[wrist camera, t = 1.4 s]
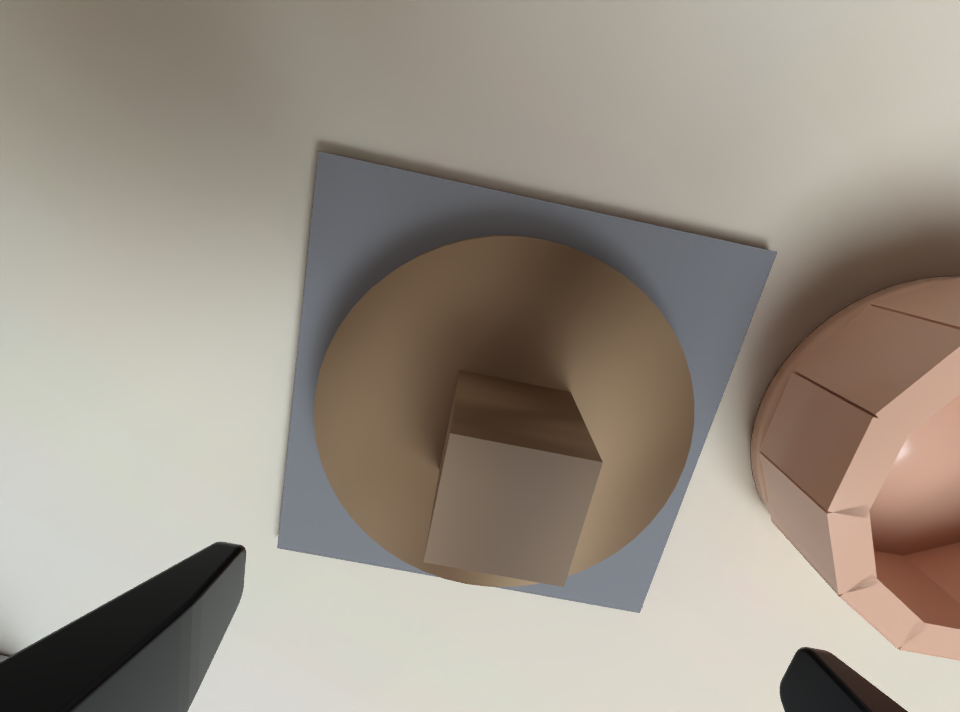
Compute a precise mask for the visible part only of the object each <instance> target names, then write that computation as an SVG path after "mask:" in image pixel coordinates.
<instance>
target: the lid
mask: <svg viewBox="0 0 960 712" xmlns="http://www.w3.org/2000/svg"><path fill="white" fill-rule="evenodd" d="M314 427H315V437H316V443H317V447H318V452H319V456H320V460H321V463H322V466H323V468H324V471H325V474H326V476H327V479H328V481H329V484H330V485H331V487H332V489H333V491H334V493H335V494H336V496H337V498H338V500H339V501H340V503H341V504H342V506H343V507H344V508H345V510H346V511H347V512H348V514H349V515H350V517H351V518H352V519H353V521H354V522H355V523H356V524H357V525H358V526H359V527H360V528H361V529H362V530H363V531H364V532H365V533H366V534H367V535H368V536H369V537H370V538H371V539H373V540H374V541H375V542H376V543H378V544H379V545H380V546H381V547H382V548H384V549H385V550H386V551H388V552H389V553H391V554H393V555H394V556H396V557H397V558H399V559H401V560H402V561H404V562H406V563H408V564H410V565H412V566H414V567H416V568H418V569H420V570H422V571H424V572H427V573H430V574H433V575H436V576H438V577H441V578H444V579H448V580H452V581H457V582H461V583H465V584H472V585H480V586H489V587H514V586H524V585H534V584H539V583H544V584H549V585H555V586H561V587H564V586H565V582H566V579H567V576H569V575H573V574H576V573H578V572H580V571H583V570H585V569H587V568H589V567H591V566H594V565H596V564H598V563H599V562H601V561H603V560H605V559H606V558H608V557H610V556H611V555H613V554H615V553H616V552H618V551H619V550H620V549H622V548H623V547H624V546H625V545H627V544H628V543H629V542H631V541H632V540H633V539H634V538H636V537H637V536H638V535H639V534H640V533H641V532H642V531H643V530H644V529H645V528H646V527H647V526H648V525H649V524H650V523H651V522H652V520H653V519H654V518H655V517H656V515H657V514H658V513H659V512H660V510H661V509H662V508H663V507H664V505H665V504H666V502H667V500H668V499H669V497H670V495H671V494H672V492H673V491H674V489H675V487H676V485H677V483H678V481H679V478H680V476H681V474H682V472H683V469H684V467H685V464H686V461H687V457H688V454H689V450H690V447H691V442H692V435H693V428H694V393H693V386H692V379H691V374H690V371H689V368H688V364H687V361H686V358H685V354H684V352H683V350H682V347H681V345H680V343H679V341H678V339H677V337H676V335H675V332H674V331H673V329H672V328H671V326H670V325H669V323H668V321H667V320H666V318H665V317H664V315H663V314H662V312H661V311H660V310H659V309H658V307H657V306H656V305H655V304H654V303H653V302H652V301H651V300H650V299H649V297H648V296H647V295H646V294H645V293H644V292H643V291H642V290H641V289H640V288H639V287H637V286H636V285H635V284H634V283H633V282H631V281H630V280H629V279H628V278H627V277H625V276H624V275H623V274H621V273H620V272H618V271H616V270H615V269H613V268H612V267H610V266H608V265H607V264H605V263H604V262H602V261H600V260H598V259H596V258H594V257H592V256H590V255H588V254H585V253H583V252H581V251H579V250H576V249H574V248H572V247H569V246H567V245H563V244H560V243H556V242H553V241H549V240H546V239H540V238H533V237H526V236H519V235H490V236H483V237H475V238H467V239H464V240H460V241H456V242H452V243H449V244H445V245H442V246H439V247H437V248H435V249H432V250H430V251H427V252H425V253H423V254H420V255H418V256H417V257H415V258H413V259H412V260H410V261H408V262H407V263H405V264H403V265H401V266H400V267H398V268H397V269H395V270H394V271H393V272H391V273H390V274H389V275H387V276H386V277H385V278H384V279H382V280H381V281H380V282H379V283H377V284H376V285H375V286H374V287H372V288H371V289H370V290H369V291H368V292H367V293H366V294H365V295H364V296H363V297H362V298H361V299H360V301H359V302H358V303H357V304H356V305H355V306H354V307H353V308H352V309H351V311H350V312H349V314H348V315H347V316H346V318H345V319H344V321H343V322H342V323H341V325H340V326H339V328H338V329H337V331H336V333H335V335H334V337H333V339H332V341H331V343H330V345H329V347H328V349H327V351H326V354H325V357H324V360H323V363H322V365H321V368H320V371H319V375H318V381H317V386H316V391H315V400H314Z"/></svg>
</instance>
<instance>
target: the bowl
mask: <svg viewBox="0 0 960 712" xmlns="http://www.w3.org/2000/svg"><path fill="white" fill-rule="evenodd" d="M751 464H752V474H753V477H754V481H755V485H756V488H757V491H758V493H759V495H760V498H761V500H762V502H763V504H764V506H765V507H766V509H767V510H768V512H769V513H770V515H771V520H772V521H773V523H774V524H775V525H776V526H777V528H778V529H779V530H780V531H781V532H782V533H783V534H784V535H785V536H786V538H787V539H788V540H789V541H790V542H791V543H792V544H793V545H794V547H795V548H796V549H797V550H798V551H799V552H800V553H801V554H802V555H803V557H804V558H805V559H806V560H807V561H808V562H809V563H810V564H811V565H812V567H813V568H814V569H815V570H816V571H817V572H818V573H819V574H820V576H821V577H822V578H823V579H824V580H825V581H826V582H827V583H828V584H829V586H830V587H831V588H832V589H833V590H834V591H835V592H836V593H837V594H838V596H839V597H840V598H841V599H843V600H844V601H845V602H846V603H847V604H848V605H849V606H850V607H851V608H853V609H854V610H855V611H856V612H857V613H858V614H859V615H860V616H861V617H863V618H864V619H865V620H866V621H867V622H868V623H869V624H870V625H871V626H873V627H874V628H875V629H876V630H877V631H878V632H879V633H880V634H882V635H883V636H884V637H885V638H886V639H887V640H888V641H889V642H890V643H892V644H893V645H894V646H895V647H896V648H897V649H899V650H903V651H909V652H915V653H920V654H926V655H931V656H937V657H942V658H948V659H953V660H959V661H960V277H935V278H926V279H919V280H914V281H910V282H906V283H902V284H898V285H894V286H892V287H889V288H886V289H883V290H880V291H878V292H875V293H873V294H870V295H868V296H866V297H864V298H862V299H860V300H858V301H856V302H854V303H852V304H850V305H849V306H847V307H846V308H844V309H842V310H841V311H839V312H838V313H836V314H835V315H833V316H831V317H830V318H829V319H828V320H826V321H825V322H824V323H822V324H821V325H820V326H819V327H817V328H816V329H815V330H814V331H812V332H811V333H810V334H809V335H808V336H807V337H806V338H805V339H804V340H803V341H802V342H801V343H800V344H799V345H798V346H797V347H796V348H795V349H794V351H793V352H792V353H791V354H790V356H789V357H788V358H787V359H786V360H785V362H784V363H783V364H782V365H781V367H780V369H779V370H778V372H777V373H776V375H775V376H774V378H773V379H772V381H771V383H770V385H769V387H768V389H767V391H766V393H765V395H764V397H763V399H762V401H761V404H760V407H759V410H758V413H757V416H756V419H755V423H754V428H753V433H752V438H751Z"/></svg>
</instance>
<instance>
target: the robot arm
mask: <svg viewBox="0 0 960 712" xmlns="http://www.w3.org/2000/svg"><path fill="white" fill-rule="evenodd" d="M245 562H246V550H245V548H244V547H243V546H242V545H238V544H232V543H227V542H216V543H214V544H212V545H210V546H208V547H206V548H205V549H203V550H201V551H199V552H197V553H196V554H194V555H192V556H190V557H188V558H187V559H185V560H183V561H181V562H179V563H178V564H176V565H174V566H172V567H170V568H169V569H167V570H165V571H163V572H161V573H160V574H158V575H156V576H154V577H152V578H151V579H149V580H147V581H145V582H143V583H142V584H140V585H138V586H136V587H134V588H133V589H131V590H129V591H127V592H125V593H124V594H122V595H120V596H118V597H116V598H115V599H113V600H111V601H109V602H107V603H106V604H104V605H102V606H100V607H98V608H97V609H95V610H93V611H91V612H89V613H88V614H86V615H84V616H82V617H80V618H79V619H77V620H75V621H73V622H71V623H69V624H68V625H66V626H64V627H62V628H60V629H59V630H57V631H55V632H53V633H51V634H50V635H48V636H46V637H44V638H42V639H41V640H39V641H37V642H35V643H33V644H32V645H30V646H28V647H26V648H24V649H23V650H21V651H19V652H17V653H15V654H14V655H12V656H10V657H8V658H6V659H5V660H3V661H1V662H0V712H187V711H188V709H189V707H190V705H191V703H192V701H193V699H194V697H195V695H196V693H197V691H198V689H199V687H200V685H201V683H202V681H203V678H204V676H205V674H206V672H207V670H208V668H209V666H210V664H211V662H212V659H213V657H214V655H215V653H216V651H217V649H218V647H219V645H220V643H221V640H222V638H223V636H224V634H225V632H226V630H227V628H228V626H229V624H230V622H231V619H232V617H233V615H234V613H235V611H236V609H237V607H238V604H239V602H240V599H241V596H242V592H243V587H244V574H245ZM780 698H781V702H782V704H783V707H784V710H785V712H908V711H906V710H905V709H904V708H902V707H901V706H900V705H898V704H897V703H896V702H895V701H893V700H892V699H891V698H889V697H888V696H887V695H885V694H884V693H883V692H881V691H880V690H879V689H878V688H876V687H875V686H874V685H872V684H871V683H870V682H868V681H867V680H866V679H864V678H863V677H862V676H861V675H859V674H858V673H857V672H855V671H854V670H853V669H851V668H850V667H849V666H847V665H846V664H845V663H844V662H842V661H841V660H840V659H838V658H837V657H836V656H834V655H833V654H832V653H830V652H828V651H825V650H820V649H814V648H809V647H802V648H800V649H799V650H797V652H796V653H795V655H794V657H793V659H792V661H791V663H790V665H789V667H788V669H787V671H786V673H785V675H784V677H783V678H782V680H781V683H780Z"/></svg>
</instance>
